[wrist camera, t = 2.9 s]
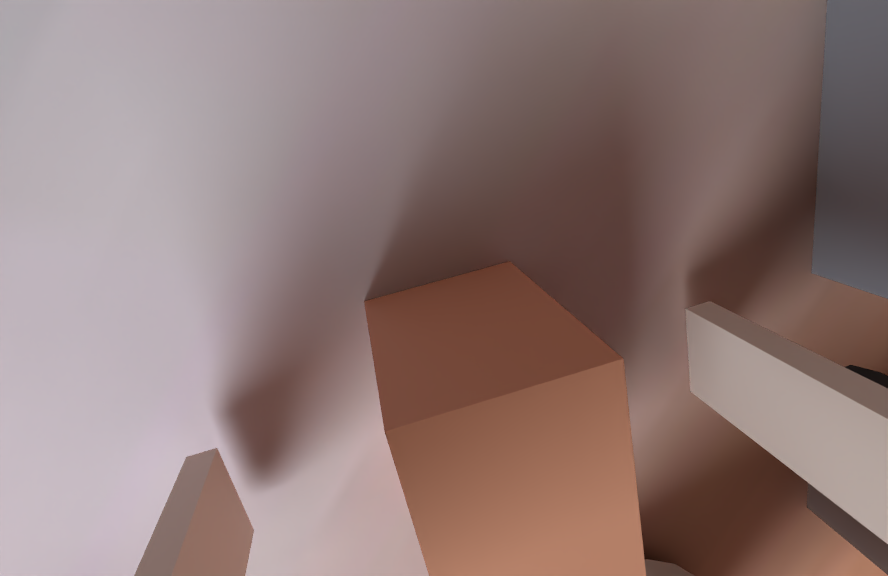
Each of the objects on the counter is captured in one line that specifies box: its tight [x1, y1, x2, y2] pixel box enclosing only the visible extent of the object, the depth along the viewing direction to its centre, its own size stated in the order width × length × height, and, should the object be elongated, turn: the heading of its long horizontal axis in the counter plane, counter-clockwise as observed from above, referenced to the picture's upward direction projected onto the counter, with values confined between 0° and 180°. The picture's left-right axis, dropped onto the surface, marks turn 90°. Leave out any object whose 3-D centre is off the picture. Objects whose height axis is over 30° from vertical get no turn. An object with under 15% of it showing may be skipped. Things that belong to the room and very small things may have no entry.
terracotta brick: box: [364, 261, 646, 576], centre depth 12 cm, size 7×4×6 cm, turn 12°
